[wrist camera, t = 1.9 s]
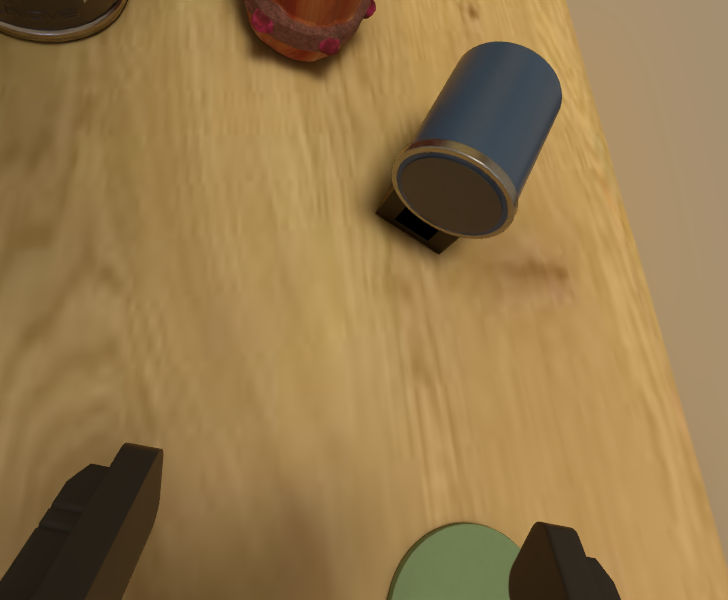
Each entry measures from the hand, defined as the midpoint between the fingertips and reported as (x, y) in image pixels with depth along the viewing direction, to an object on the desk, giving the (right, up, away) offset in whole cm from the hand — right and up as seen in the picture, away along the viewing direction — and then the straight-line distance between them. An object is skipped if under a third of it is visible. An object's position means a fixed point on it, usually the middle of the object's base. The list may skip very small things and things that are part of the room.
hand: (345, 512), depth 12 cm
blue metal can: (+6, +12, +21) cm, 25 cm away
